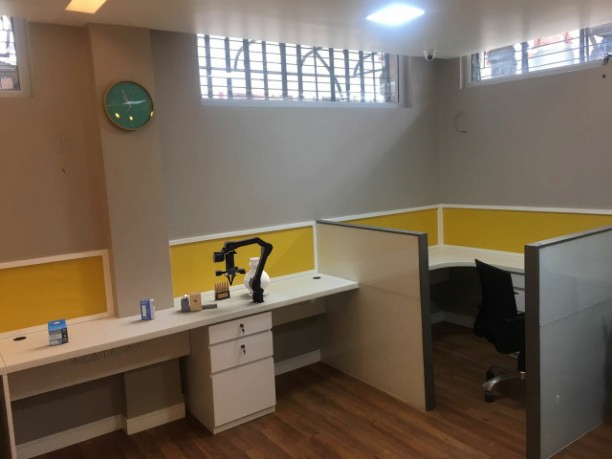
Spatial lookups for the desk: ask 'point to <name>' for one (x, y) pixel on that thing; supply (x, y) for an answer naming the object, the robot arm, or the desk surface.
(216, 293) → the ammunition clip
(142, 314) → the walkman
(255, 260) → the decorative vase
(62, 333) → the label tape cartridge
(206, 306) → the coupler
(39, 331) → the desk surface
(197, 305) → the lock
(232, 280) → the robot arm
